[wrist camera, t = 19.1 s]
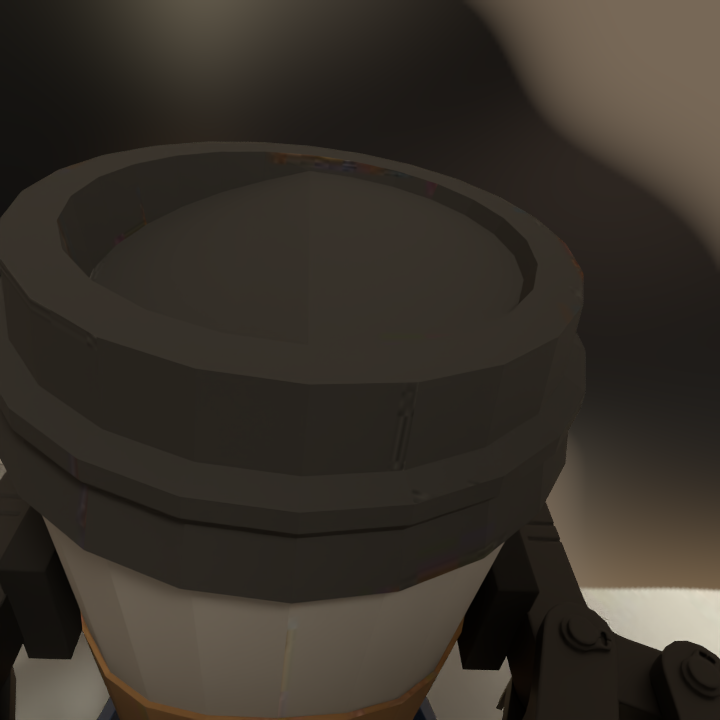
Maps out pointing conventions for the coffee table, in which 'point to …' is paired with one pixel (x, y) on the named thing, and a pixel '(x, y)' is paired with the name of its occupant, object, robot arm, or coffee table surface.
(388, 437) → the coffee cup
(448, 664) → the coffee table surface
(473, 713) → the coffee table surface
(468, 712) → the coffee table surface
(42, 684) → the coffee table surface
